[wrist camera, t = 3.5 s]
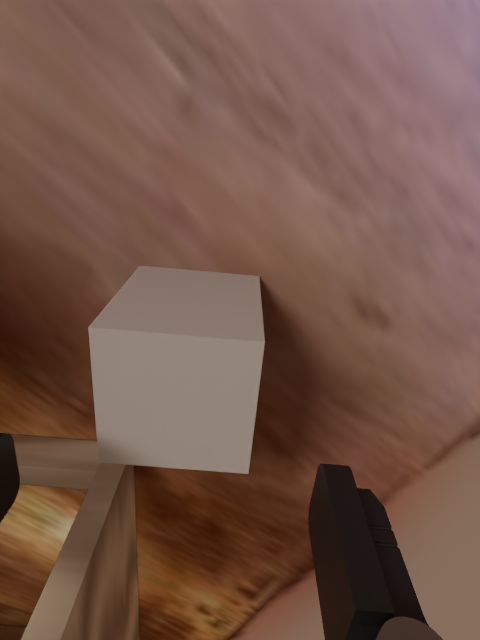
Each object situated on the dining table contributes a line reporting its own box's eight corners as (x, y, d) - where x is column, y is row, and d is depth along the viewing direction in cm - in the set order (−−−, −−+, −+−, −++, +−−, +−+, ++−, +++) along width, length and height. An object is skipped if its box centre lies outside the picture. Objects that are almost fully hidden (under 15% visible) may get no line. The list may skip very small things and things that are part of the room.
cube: (140, 265, 17) (87, 327, 11) (259, 275, 17) (264, 342, 11) (141, 368, 19) (98, 462, 13) (248, 377, 19) (248, 473, 14)
